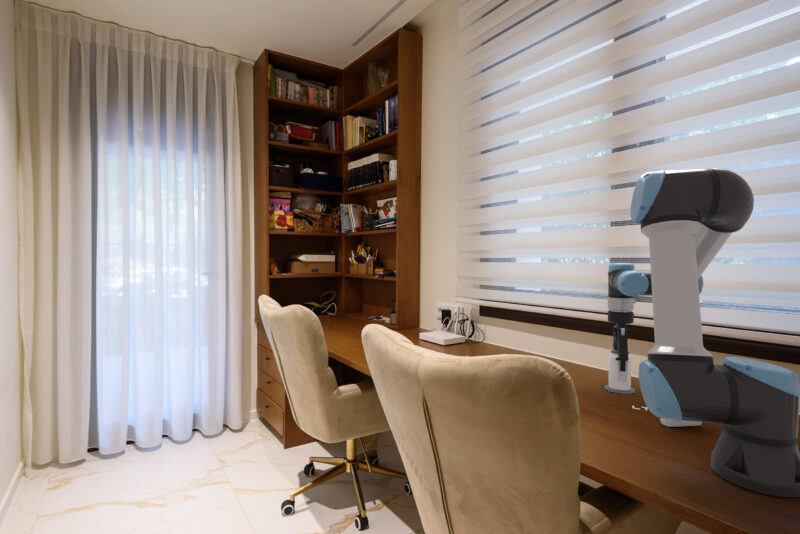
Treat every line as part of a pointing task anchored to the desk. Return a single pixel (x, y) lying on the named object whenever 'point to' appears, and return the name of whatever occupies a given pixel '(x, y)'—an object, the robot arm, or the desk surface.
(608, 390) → the felt coaster
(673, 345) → the robot arm
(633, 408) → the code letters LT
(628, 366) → the can
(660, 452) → the desk surface
